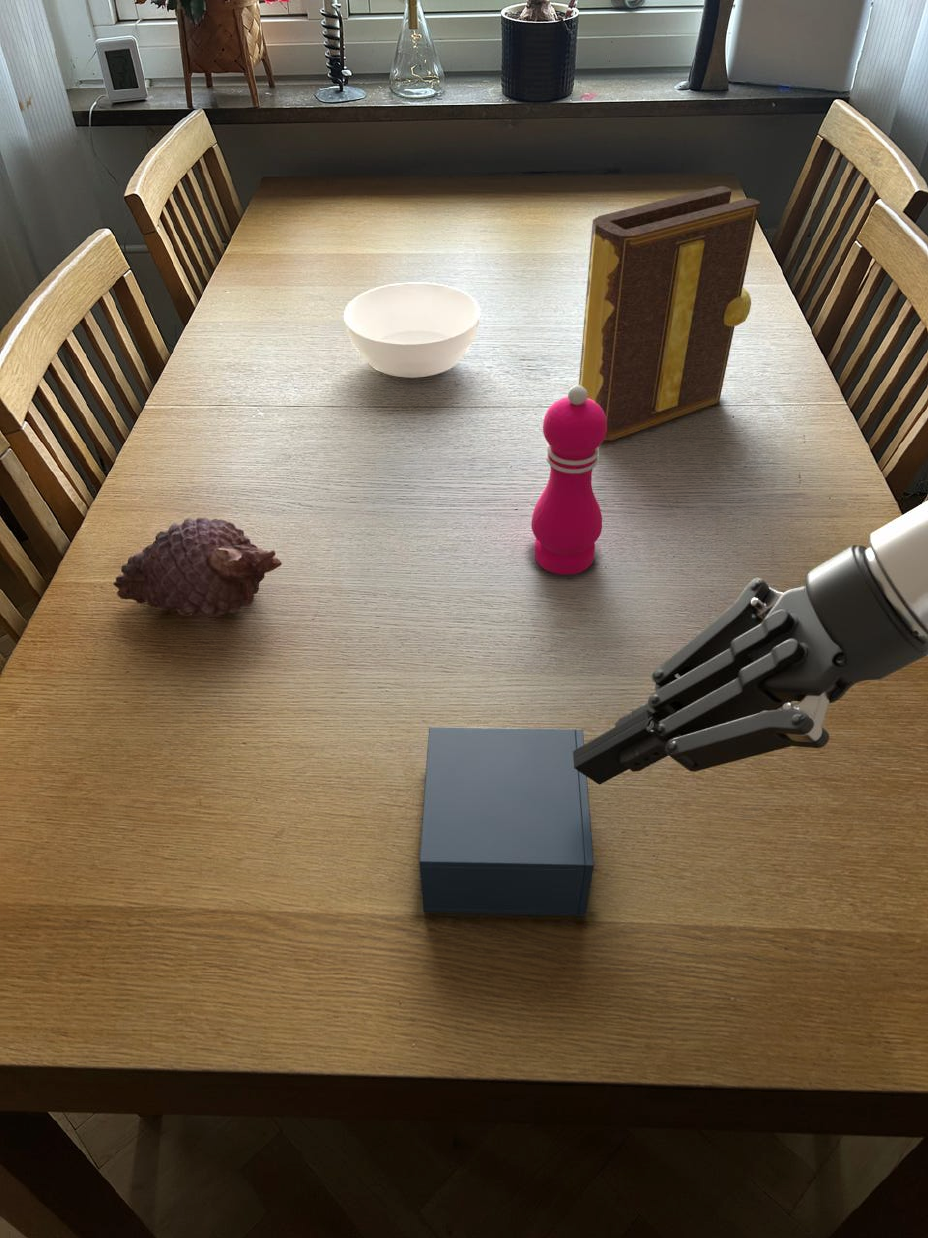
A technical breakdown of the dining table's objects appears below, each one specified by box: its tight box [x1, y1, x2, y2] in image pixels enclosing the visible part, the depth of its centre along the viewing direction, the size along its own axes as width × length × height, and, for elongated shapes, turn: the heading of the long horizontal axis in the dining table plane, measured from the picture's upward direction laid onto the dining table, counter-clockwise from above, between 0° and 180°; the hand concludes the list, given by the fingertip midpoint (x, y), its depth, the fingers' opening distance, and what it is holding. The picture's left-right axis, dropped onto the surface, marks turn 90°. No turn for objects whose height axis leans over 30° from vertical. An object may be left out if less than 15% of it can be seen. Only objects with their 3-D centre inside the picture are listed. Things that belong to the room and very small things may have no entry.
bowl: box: [343, 282, 481, 378], centre depth 126 cm, size 18×18×7 cm
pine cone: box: [112, 517, 283, 619], centre depth 91 cm, size 18×10×10 cm
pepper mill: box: [530, 384, 607, 576], centre depth 91 cm, size 7×7×20 cm
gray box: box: [418, 726, 595, 917], centre depth 70 cm, size 7×12×12 cm
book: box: [578, 185, 761, 443], centre depth 110 cm, size 22×8×25 cm, turn 120°
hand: (586, 768), depth 65 cm, fingers closed
